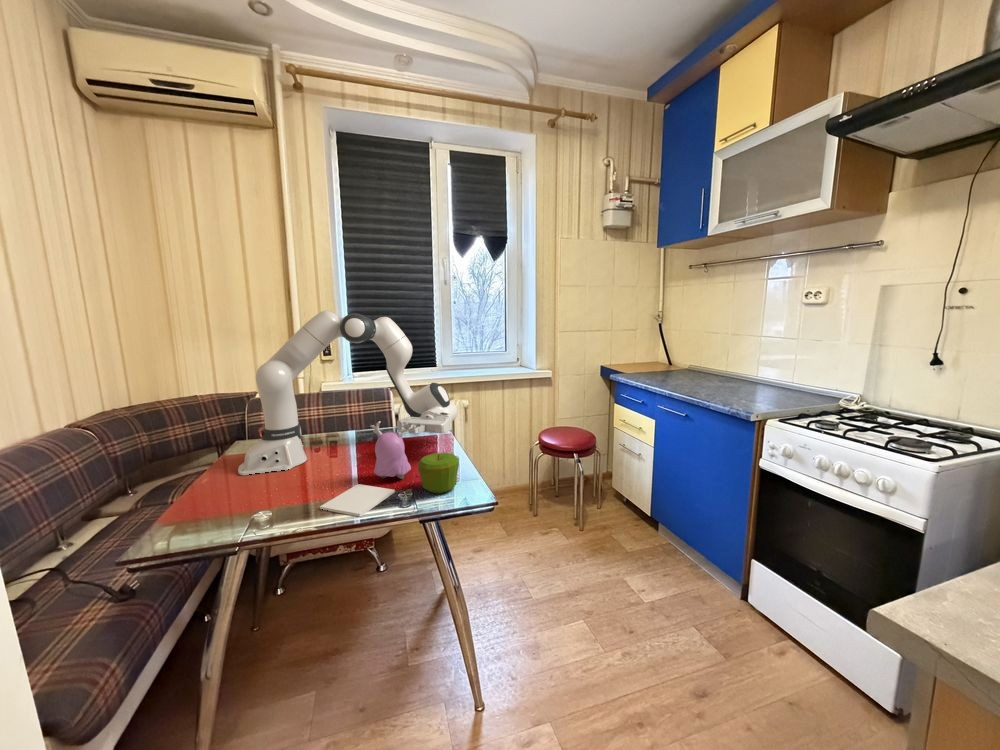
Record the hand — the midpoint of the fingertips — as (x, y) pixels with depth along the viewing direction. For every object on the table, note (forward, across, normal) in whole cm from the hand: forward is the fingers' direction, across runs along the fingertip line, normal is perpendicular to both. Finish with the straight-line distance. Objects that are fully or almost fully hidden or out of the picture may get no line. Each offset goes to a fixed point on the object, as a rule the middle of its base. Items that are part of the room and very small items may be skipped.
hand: (411, 431), depth 147 cm
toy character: (+12, 0, +13) cm, 18 cm away
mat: (+29, 0, +12) cm, 32 cm away
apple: (+15, +19, +13) cm, 27 cm away
